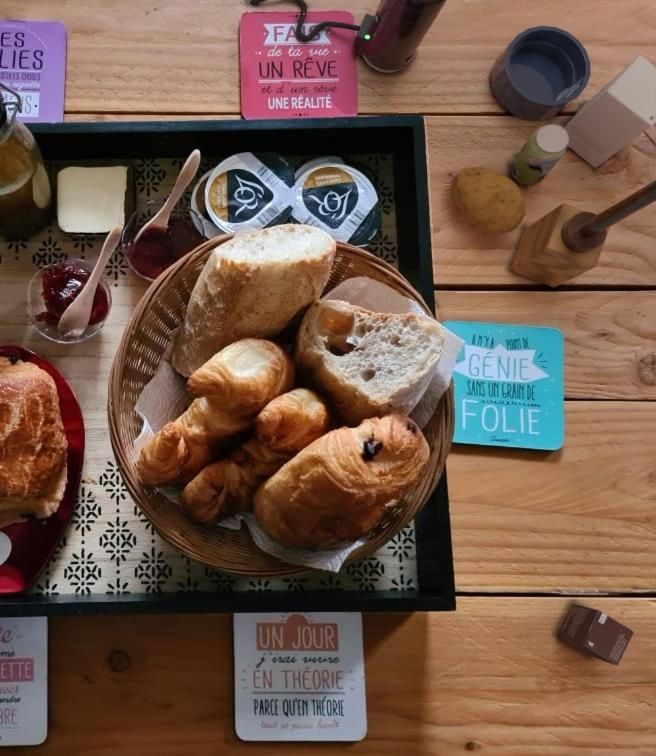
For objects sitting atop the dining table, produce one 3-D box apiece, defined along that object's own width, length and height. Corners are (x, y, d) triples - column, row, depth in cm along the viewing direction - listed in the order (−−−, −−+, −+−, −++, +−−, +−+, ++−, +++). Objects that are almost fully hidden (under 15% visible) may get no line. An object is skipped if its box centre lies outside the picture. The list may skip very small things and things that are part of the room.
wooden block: (509, 269, 126) (547, 247, 114) (524, 228, 127) (563, 202, 115) (553, 287, 126) (596, 267, 114) (568, 246, 127) (612, 221, 115)
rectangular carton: (625, 134, 130) (687, 89, 115) (594, 169, 129) (652, 128, 114) (585, 101, 131) (641, 52, 116) (554, 136, 130) (606, 90, 115)
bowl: (477, 104, 130) (493, 85, 124) (504, 34, 132) (521, 13, 126) (555, 134, 130) (575, 117, 124) (581, 64, 132) (601, 44, 126)
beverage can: (543, 187, 128) (584, 157, 116) (501, 186, 128) (537, 156, 116) (541, 153, 129) (581, 120, 117) (500, 152, 129) (535, 119, 117)
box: (588, 656, 117) (617, 667, 109) (554, 635, 117) (581, 645, 110) (605, 622, 117) (635, 631, 110) (572, 602, 118) (599, 609, 111)
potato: (498, 140, 120) (458, 171, 118) (551, 203, 119) (511, 235, 117) (467, 165, 129) (429, 195, 127) (516, 224, 128) (478, 254, 126)
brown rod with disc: (555, 244, 114) (651, 187, 92) (567, 210, 115) (665, 146, 93) (592, 258, 114) (697, 205, 92) (604, 225, 115) (710, 164, 93)
